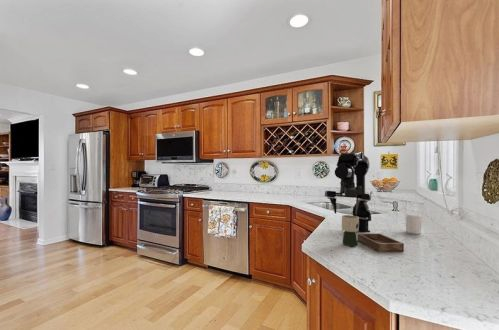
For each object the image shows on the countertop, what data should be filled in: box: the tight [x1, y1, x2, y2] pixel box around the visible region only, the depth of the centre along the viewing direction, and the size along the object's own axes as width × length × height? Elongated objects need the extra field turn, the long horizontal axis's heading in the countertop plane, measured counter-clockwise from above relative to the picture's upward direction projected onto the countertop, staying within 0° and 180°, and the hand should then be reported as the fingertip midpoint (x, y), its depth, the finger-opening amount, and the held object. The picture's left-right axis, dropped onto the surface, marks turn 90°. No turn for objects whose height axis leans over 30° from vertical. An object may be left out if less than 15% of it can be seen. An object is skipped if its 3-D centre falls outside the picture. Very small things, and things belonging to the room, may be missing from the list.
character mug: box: [341, 214, 359, 247], centre depth 111 cm, size 11×7×13 cm, turn 161°
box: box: [356, 232, 405, 253], centre depth 111 cm, size 12×16×4 cm
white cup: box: [404, 212, 423, 235], centre depth 137 cm, size 8×8×10 cm
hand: (345, 214), depth 111 cm, fingers open, 9 cm apart
